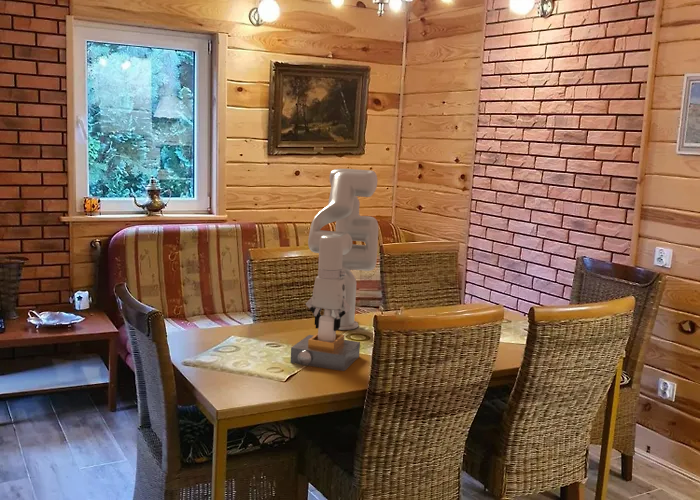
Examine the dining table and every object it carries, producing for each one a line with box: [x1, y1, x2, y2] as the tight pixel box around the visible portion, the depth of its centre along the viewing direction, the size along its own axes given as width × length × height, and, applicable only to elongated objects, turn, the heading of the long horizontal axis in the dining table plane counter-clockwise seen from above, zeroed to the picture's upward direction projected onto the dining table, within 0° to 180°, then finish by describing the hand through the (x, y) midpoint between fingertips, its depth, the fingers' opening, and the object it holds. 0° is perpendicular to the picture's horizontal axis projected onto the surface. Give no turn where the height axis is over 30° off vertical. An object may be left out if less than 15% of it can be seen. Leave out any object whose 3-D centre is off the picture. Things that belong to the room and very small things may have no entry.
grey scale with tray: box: [290, 332, 361, 372], centre depth 234 cm, size 18×18×8 cm
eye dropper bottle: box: [317, 309, 337, 342], centre depth 232 cm, size 4×6×12 cm
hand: (327, 328), depth 233 cm, fingers closed on eye dropper bottle, 5 cm apart
